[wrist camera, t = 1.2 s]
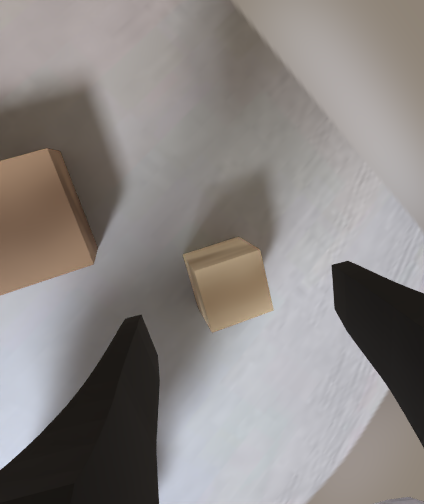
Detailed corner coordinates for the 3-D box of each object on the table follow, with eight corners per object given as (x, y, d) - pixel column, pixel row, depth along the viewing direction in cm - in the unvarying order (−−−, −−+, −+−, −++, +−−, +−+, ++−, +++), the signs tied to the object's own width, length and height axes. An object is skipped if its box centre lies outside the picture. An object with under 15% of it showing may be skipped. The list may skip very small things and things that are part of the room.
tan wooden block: (98, 247, 22) (93, 264, 18) (-1, 279, 21) (-27, 304, 17) (60, 151, 20) (47, 148, 17) (-50, 181, 19) (-90, 185, 16)
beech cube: (250, 288, 25) (273, 310, 22) (197, 307, 25) (212, 332, 21) (238, 236, 24) (260, 249, 20) (182, 254, 23) (194, 271, 20)
